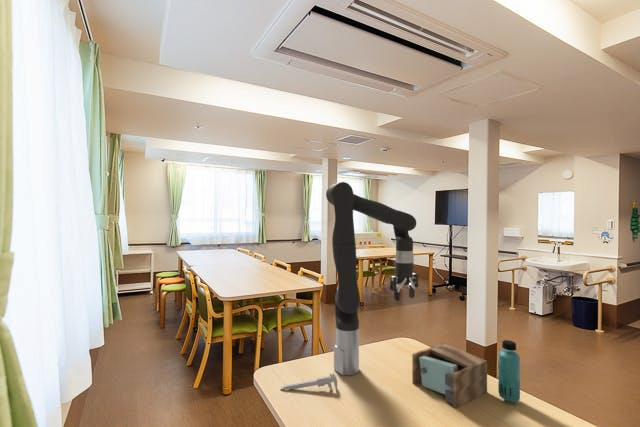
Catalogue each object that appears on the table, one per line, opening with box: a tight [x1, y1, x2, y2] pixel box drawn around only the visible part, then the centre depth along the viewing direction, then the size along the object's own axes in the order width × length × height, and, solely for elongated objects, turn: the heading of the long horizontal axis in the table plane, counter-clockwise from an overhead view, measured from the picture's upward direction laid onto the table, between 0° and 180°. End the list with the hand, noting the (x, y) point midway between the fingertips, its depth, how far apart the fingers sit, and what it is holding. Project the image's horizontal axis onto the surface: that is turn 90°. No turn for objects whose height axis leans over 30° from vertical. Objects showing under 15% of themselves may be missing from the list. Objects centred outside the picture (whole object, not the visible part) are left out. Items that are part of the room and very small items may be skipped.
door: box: [419, 356, 458, 395], centre depth 112 cm, size 4×14×10 cm, turn 33°
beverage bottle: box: [497, 339, 521, 403], centre depth 107 cm, size 6×7×20 cm
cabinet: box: [411, 343, 488, 409], centre depth 115 cm, size 18×18×11 cm
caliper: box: [280, 372, 338, 392], centre depth 114 cm, size 20×1×6 cm, turn 90°
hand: (404, 299), depth 136 cm, fingers open, 8 cm apart
